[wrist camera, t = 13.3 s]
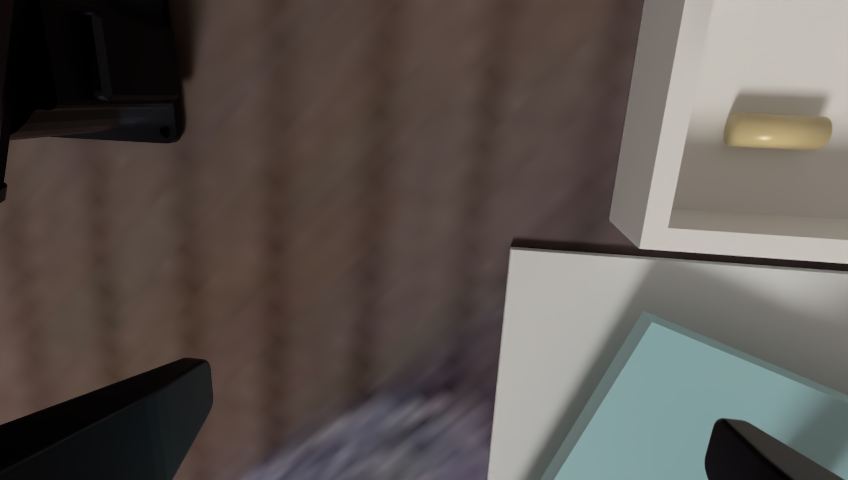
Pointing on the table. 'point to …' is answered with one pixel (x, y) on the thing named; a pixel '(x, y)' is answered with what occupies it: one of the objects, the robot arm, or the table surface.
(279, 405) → the table surface
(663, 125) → the parts tub
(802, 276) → the grey mat
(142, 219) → the table surface
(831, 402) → the teal lid
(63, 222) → the table surface
